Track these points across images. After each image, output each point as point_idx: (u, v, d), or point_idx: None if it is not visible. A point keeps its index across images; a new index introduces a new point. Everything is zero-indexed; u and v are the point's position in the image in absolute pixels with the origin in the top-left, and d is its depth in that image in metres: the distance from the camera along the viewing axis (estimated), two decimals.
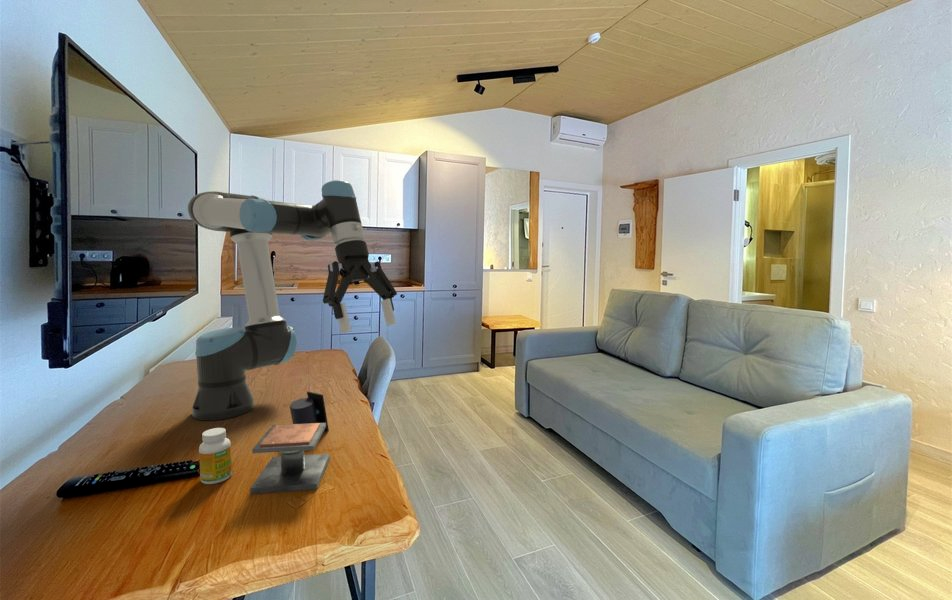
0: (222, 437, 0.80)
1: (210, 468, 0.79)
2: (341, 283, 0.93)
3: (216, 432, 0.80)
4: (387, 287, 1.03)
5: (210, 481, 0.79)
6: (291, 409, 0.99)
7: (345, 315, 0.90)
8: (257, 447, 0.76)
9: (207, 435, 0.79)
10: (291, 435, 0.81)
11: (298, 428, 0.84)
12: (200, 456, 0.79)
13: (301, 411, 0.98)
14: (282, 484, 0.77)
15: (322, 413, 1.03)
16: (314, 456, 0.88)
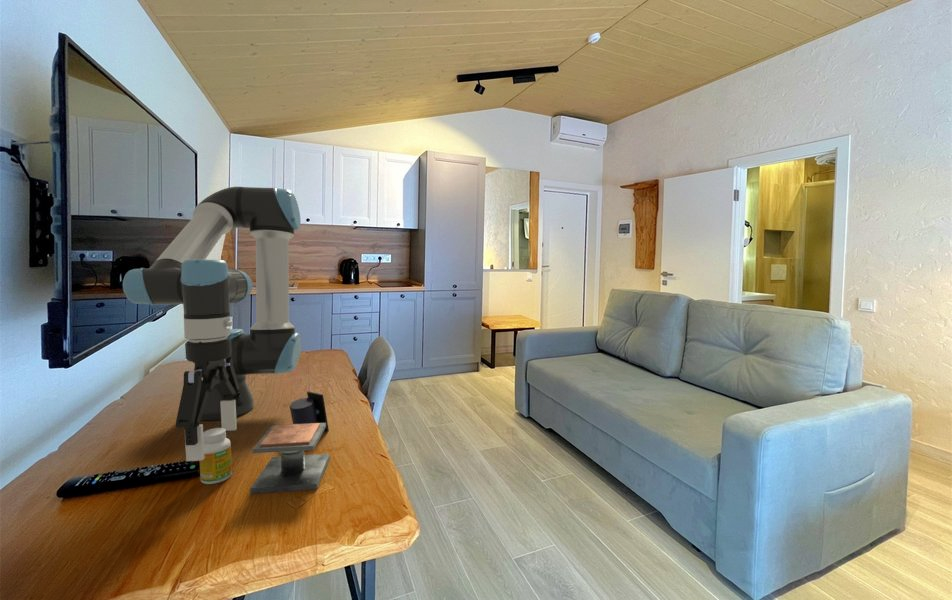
0: (222, 437, 0.80)
1: (210, 468, 0.79)
2: None
3: (216, 432, 0.80)
4: (232, 384, 0.87)
5: (210, 481, 0.79)
6: (291, 409, 0.99)
7: (201, 440, 0.73)
8: (257, 447, 0.76)
9: (207, 435, 0.79)
10: (291, 435, 0.81)
11: (298, 428, 0.84)
12: None
13: (301, 411, 0.98)
14: (282, 484, 0.77)
15: (322, 413, 1.03)
16: (314, 456, 0.88)
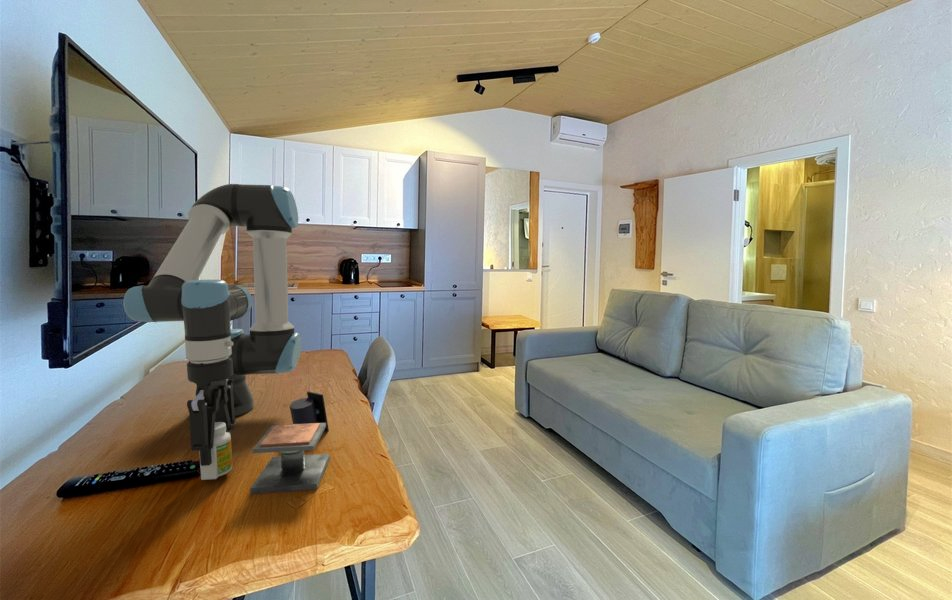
0: (222, 431, 0.80)
1: None
2: None
3: (217, 426, 0.80)
4: (228, 412, 0.86)
5: None
6: (291, 409, 0.99)
7: (215, 460, 0.78)
8: (257, 447, 0.76)
9: None
10: (291, 435, 0.81)
11: (298, 428, 0.84)
12: None
13: (301, 411, 0.98)
14: (282, 484, 0.77)
15: (322, 413, 1.03)
16: (314, 456, 0.88)
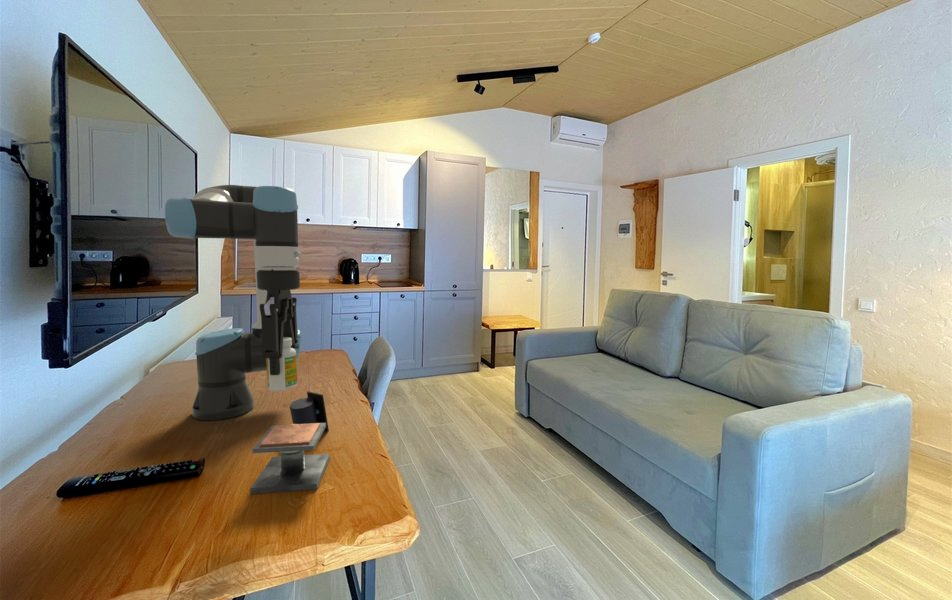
0: (289, 344, 0.79)
1: None
2: None
3: (283, 339, 0.79)
4: None
5: None
6: (291, 409, 0.99)
7: (283, 371, 0.77)
8: (257, 447, 0.76)
9: None
10: (291, 435, 0.81)
11: (298, 428, 0.84)
12: None
13: (301, 411, 0.98)
14: (282, 484, 0.77)
15: (322, 413, 1.03)
16: (314, 456, 0.88)
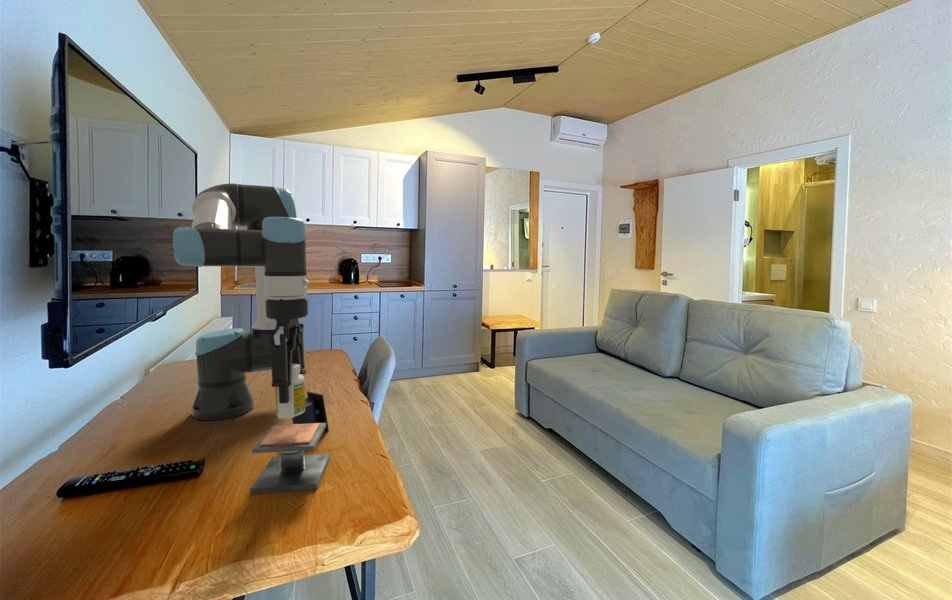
0: (298, 371, 0.80)
1: None
2: None
3: (292, 366, 0.80)
4: None
5: None
6: None
7: (292, 399, 0.78)
8: (257, 447, 0.76)
9: None
10: (291, 435, 0.81)
11: (298, 428, 0.84)
12: None
13: None
14: (282, 484, 0.77)
15: (322, 413, 1.03)
16: (314, 456, 0.88)
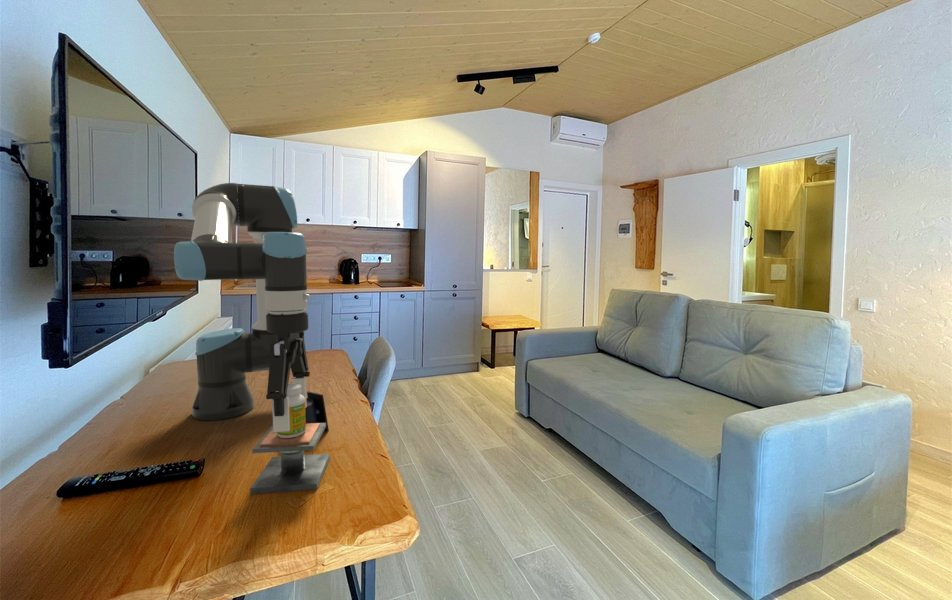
0: (299, 391, 0.81)
1: None
2: None
3: (293, 387, 0.80)
4: (302, 362, 0.88)
5: (287, 435, 0.79)
6: None
7: (288, 412, 0.75)
8: (257, 447, 0.76)
9: None
10: None
11: None
12: None
13: None
14: (282, 484, 0.77)
15: (322, 413, 1.03)
16: (314, 456, 0.88)
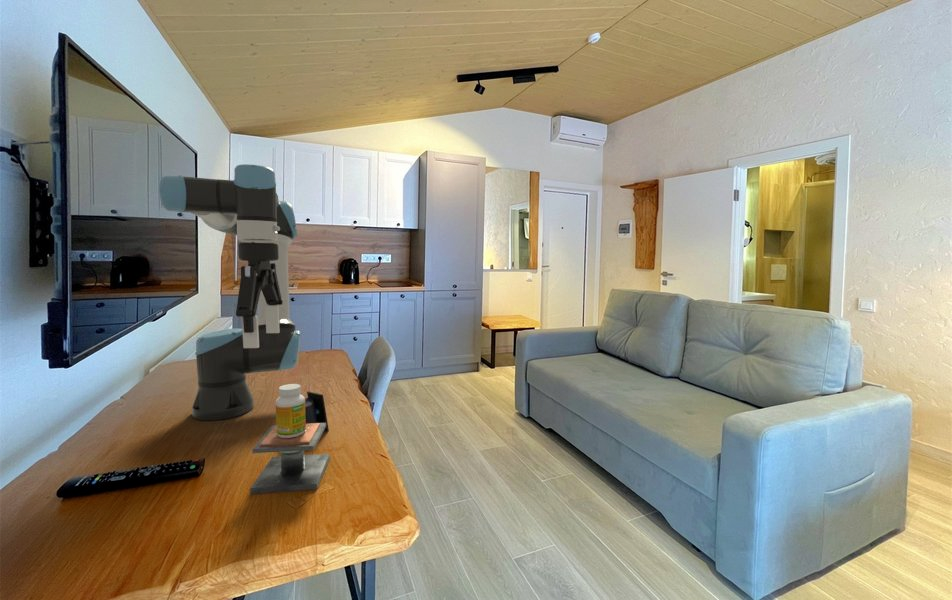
0: (298, 391, 0.81)
1: (287, 422, 0.79)
2: None
3: (293, 387, 0.80)
4: None
5: (287, 435, 0.79)
6: None
7: (257, 330, 0.81)
8: (257, 447, 0.76)
9: (285, 389, 0.79)
10: None
11: None
12: (277, 410, 0.79)
13: None
14: (282, 484, 0.77)
15: (322, 413, 1.03)
16: (314, 456, 0.88)
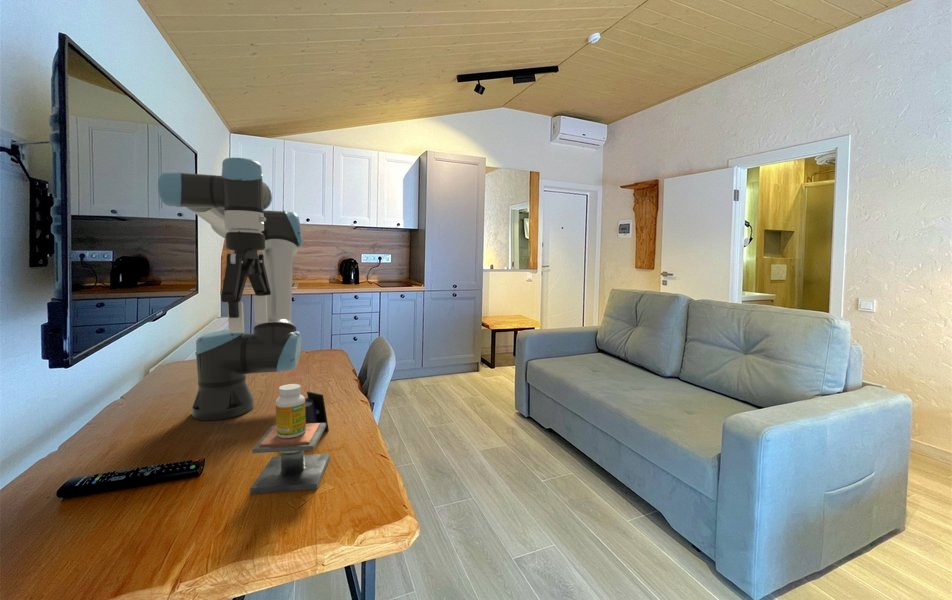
0: (298, 391, 0.81)
1: (287, 422, 0.79)
2: None
3: (293, 387, 0.80)
4: (263, 282, 0.98)
5: (287, 435, 0.79)
6: None
7: (242, 315, 0.84)
8: (257, 447, 0.76)
9: (285, 389, 0.79)
10: None
11: None
12: (277, 410, 0.79)
13: None
14: (282, 484, 0.77)
15: (322, 413, 1.03)
16: (314, 456, 0.88)
